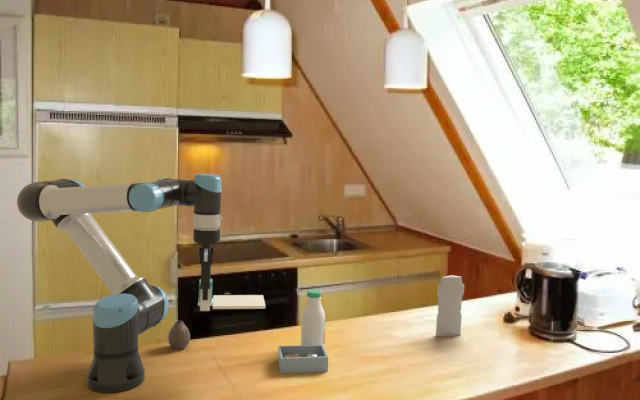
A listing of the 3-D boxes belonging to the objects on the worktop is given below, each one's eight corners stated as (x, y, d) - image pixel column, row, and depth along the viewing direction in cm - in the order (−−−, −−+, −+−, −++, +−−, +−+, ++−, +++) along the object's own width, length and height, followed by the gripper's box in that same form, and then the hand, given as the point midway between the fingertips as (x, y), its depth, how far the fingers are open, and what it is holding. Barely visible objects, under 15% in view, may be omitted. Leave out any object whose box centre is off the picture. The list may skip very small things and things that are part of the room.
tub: (280, 375, 166) (281, 358, 165) (277, 361, 176) (278, 345, 175) (327, 373, 168) (328, 357, 167) (322, 360, 178) (322, 344, 177)
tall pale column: (458, 332, 207) (462, 273, 205) (464, 336, 204) (467, 276, 201) (432, 334, 205) (435, 274, 202) (437, 338, 201) (440, 277, 198)
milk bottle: (321, 356, 181) (323, 295, 178) (298, 353, 182) (299, 293, 180) (326, 347, 188) (328, 289, 186) (303, 345, 190) (305, 287, 188)
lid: (197, 309, 158) (197, 285, 158) (199, 297, 169) (199, 275, 168) (265, 308, 162) (266, 285, 161) (262, 297, 172) (263, 275, 171)
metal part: (305, 365, 171) (306, 355, 171) (307, 361, 174) (308, 352, 174) (316, 366, 171) (316, 357, 171) (317, 363, 174) (318, 353, 174)
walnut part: (288, 369, 168) (289, 360, 168) (284, 364, 172) (284, 355, 171) (301, 368, 170) (301, 358, 169) (296, 363, 173) (296, 353, 173)
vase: (190, 343, 188) (190, 317, 187) (189, 351, 182) (190, 324, 181) (168, 344, 187) (168, 318, 186) (167, 352, 180) (167, 325, 179)
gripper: (220, 234, 153) (218, 317, 156) (220, 223, 171) (218, 298, 174) (191, 233, 152) (190, 317, 155) (195, 222, 170) (193, 298, 172)
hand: (205, 307), depth 164 cm, fingers closed on lid, 5 cm apart
